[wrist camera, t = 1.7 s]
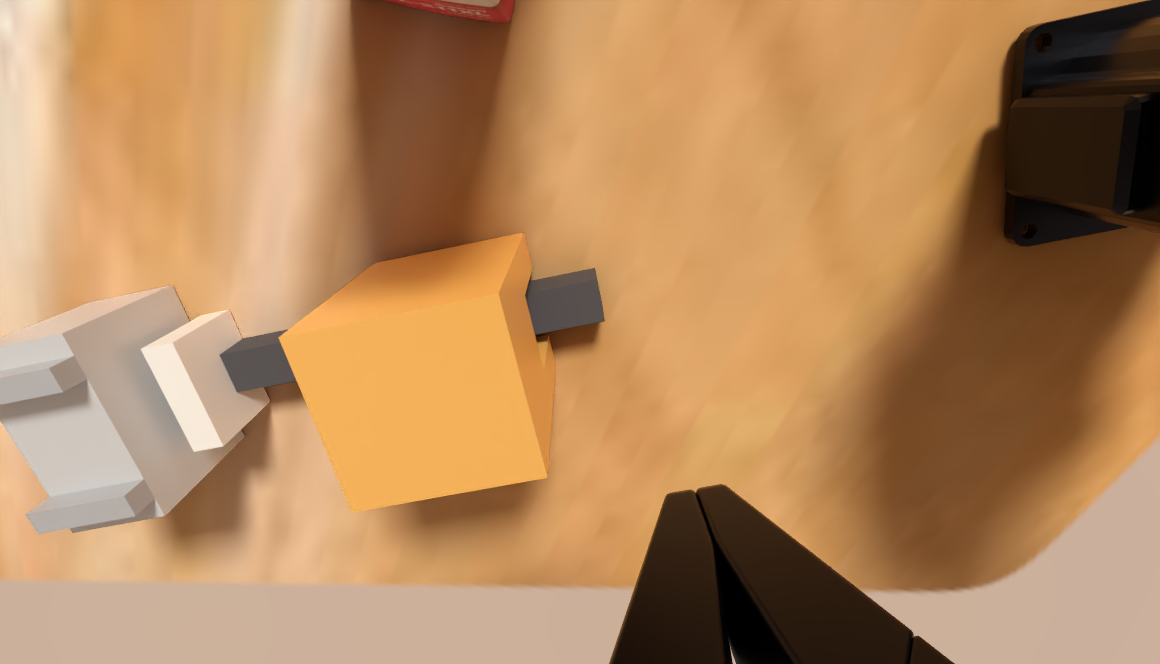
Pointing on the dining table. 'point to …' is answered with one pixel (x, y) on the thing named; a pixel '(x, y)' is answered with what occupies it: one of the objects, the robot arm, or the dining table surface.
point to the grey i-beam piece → (99, 414)
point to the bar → (546, 298)
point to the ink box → (465, 8)
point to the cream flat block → (203, 380)
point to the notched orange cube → (429, 375)
